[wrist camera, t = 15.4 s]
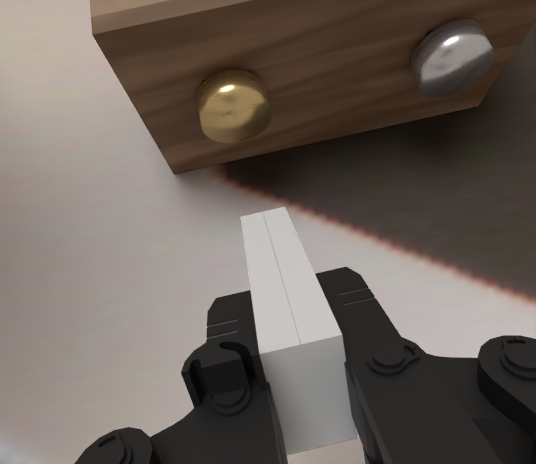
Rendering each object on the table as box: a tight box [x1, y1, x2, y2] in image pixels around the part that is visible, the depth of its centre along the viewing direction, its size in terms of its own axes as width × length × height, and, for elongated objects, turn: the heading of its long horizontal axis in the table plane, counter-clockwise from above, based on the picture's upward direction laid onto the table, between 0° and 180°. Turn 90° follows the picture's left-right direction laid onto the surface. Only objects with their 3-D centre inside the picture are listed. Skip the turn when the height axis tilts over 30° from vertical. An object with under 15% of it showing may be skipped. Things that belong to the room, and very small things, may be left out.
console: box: [90, 0, 536, 174], centre depth 28 cm, size 10×26×14 cm, turn 102°
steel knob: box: [410, 19, 495, 98], centre depth 26 cm, size 6×4×4 cm
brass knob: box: [196, 69, 272, 143], centre depth 25 cm, size 6×4×4 cm
